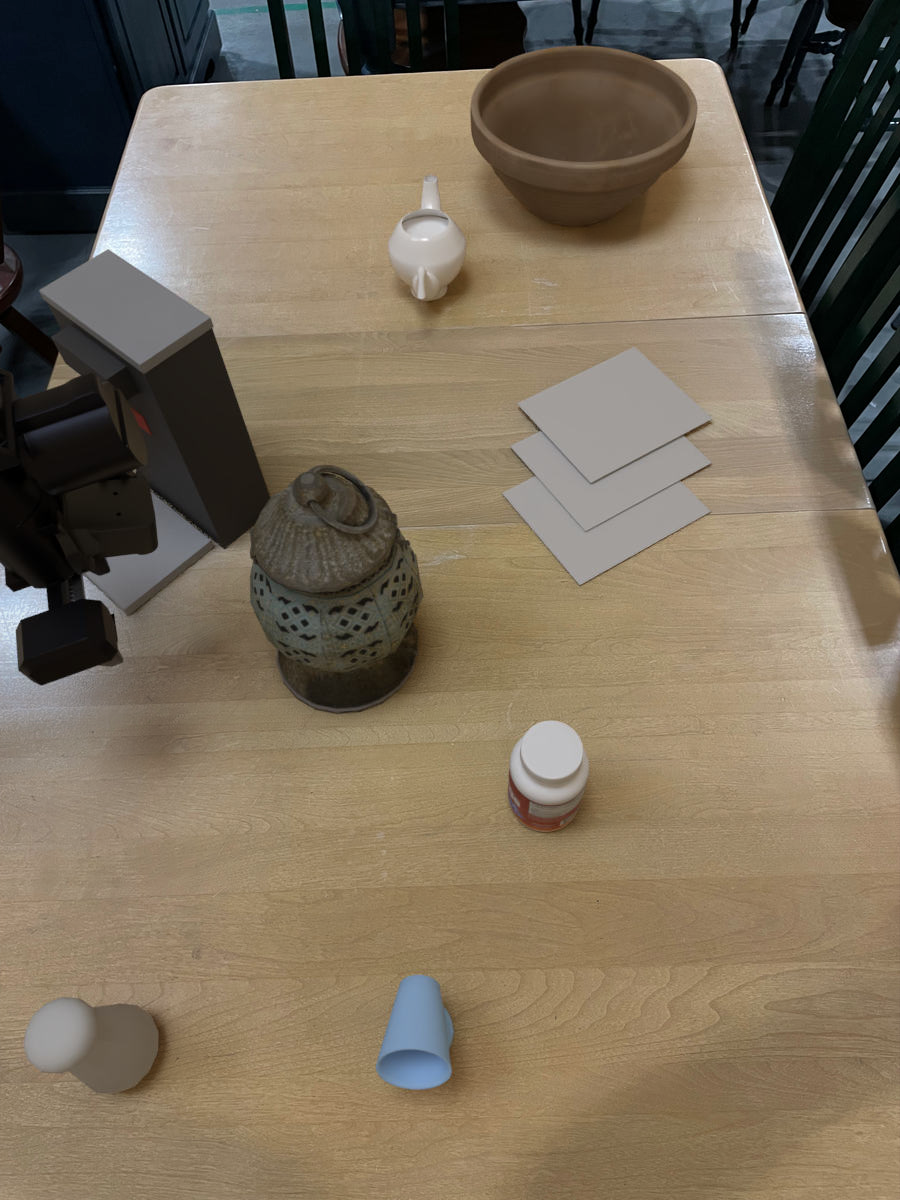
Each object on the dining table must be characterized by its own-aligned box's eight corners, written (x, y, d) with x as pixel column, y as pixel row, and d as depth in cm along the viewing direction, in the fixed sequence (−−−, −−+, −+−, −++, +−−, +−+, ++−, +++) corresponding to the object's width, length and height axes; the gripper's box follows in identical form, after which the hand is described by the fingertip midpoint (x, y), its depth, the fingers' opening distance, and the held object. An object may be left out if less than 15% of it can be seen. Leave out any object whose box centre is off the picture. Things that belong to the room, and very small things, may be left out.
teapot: (385, 342, 103) (376, 276, 95) (399, 240, 114) (392, 174, 106) (463, 342, 103) (461, 277, 95) (470, 240, 113) (469, 173, 105)
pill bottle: (509, 761, 74) (512, 707, 65) (580, 766, 74) (594, 712, 64) (505, 831, 71) (507, 785, 61) (579, 837, 70) (593, 791, 61)
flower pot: (679, 143, 123) (697, 45, 112) (677, 268, 109) (699, 169, 97) (485, 135, 127) (485, 39, 115) (458, 255, 112) (455, 158, 101)
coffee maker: (134, 622, 83) (14, 448, 62) (53, 546, 89) (-84, 362, 67) (276, 508, 90) (210, 317, 69) (192, 444, 96) (107, 248, 74)
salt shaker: (184, 1035, 64) (120, 1015, 53) (132, 1112, 61) (54, 1107, 50) (126, 992, 65) (52, 964, 54) (73, 1065, 63) (-15, 1051, 52)
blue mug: (455, 1093, 61) (457, 988, 65) (450, 1087, 52) (452, 967, 56) (386, 1091, 61) (392, 987, 65) (370, 1085, 53) (378, 965, 56)
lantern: (319, 569, 86) (264, 384, 65) (449, 612, 82) (436, 433, 61) (251, 685, 79) (164, 522, 58) (389, 738, 76) (351, 585, 55)
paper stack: (771, 477, 90) (773, 473, 89) (579, 585, 83) (580, 581, 83) (633, 351, 101) (634, 346, 100) (454, 438, 94) (454, 433, 94)
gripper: (135, 571, 52) (225, 678, 66) (102, 371, 62) (186, 500, 75) (-41, 632, 52) (86, 728, 65) (-47, 421, 61) (65, 542, 74)
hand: (111, 616), depth 70 cm, fingers open, 9 cm apart
